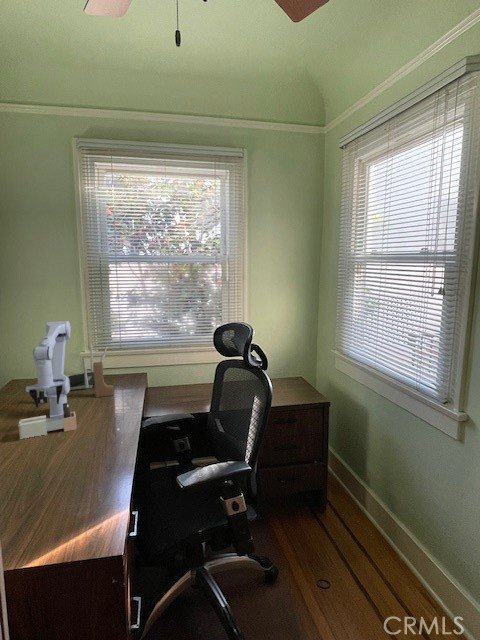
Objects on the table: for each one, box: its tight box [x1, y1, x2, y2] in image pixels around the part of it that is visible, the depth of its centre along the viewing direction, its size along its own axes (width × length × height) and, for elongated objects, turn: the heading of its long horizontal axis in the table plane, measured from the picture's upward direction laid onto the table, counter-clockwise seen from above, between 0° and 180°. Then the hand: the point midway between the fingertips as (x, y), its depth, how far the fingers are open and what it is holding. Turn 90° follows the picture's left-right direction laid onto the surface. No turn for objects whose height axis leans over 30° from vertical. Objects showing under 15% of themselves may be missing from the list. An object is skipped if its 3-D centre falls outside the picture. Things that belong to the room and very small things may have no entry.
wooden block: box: [93, 361, 114, 398], centre depth 190 cm, size 9×4×18 cm, turn 111°
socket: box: [62, 411, 78, 432], centre depth 153 cm, size 6×5×6 cm
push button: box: [32, 382, 49, 404], centre depth 182 cm, size 7×5×10 cm
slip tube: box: [46, 402, 72, 432], centre depth 150 cm, size 4×12×10 cm, turn 118°
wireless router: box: [67, 343, 108, 391], centre depth 210 cm, size 34×23×20 cm
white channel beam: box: [18, 415, 48, 440], centre depth 147 cm, size 6×10×6 cm, turn 118°
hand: (47, 404), depth 153 cm, fingers open, 7 cm apart
